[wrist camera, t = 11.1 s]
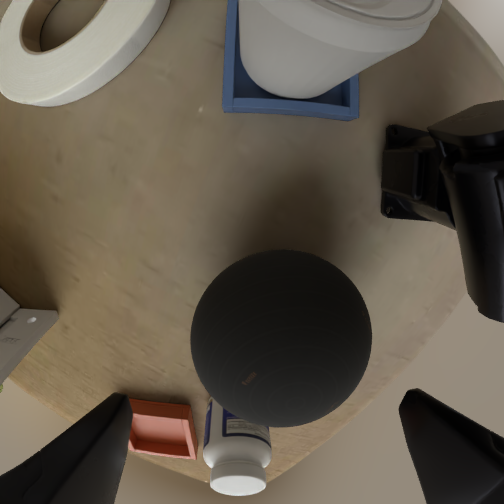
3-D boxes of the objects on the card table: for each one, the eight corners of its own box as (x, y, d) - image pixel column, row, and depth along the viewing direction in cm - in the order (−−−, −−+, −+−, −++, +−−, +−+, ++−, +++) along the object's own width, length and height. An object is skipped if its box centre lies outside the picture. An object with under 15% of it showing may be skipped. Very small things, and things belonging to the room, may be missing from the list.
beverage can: (219, 65, 15) (183, -44, 4) (277, -1, 13) (313, -123, 2) (304, 121, 17) (404, 89, 5) (357, 53, 15) (473, -18, 4)
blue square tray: (344, 20, 14) (354, 9, 13) (348, 121, 17) (359, 117, 15) (229, 8, 14) (228, -5, 12) (223, 112, 17) (222, 107, 15)
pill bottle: (235, 427, 25) (235, 503, 16) (196, 401, 24) (184, 483, 15) (278, 405, 24) (289, 485, 16) (239, 375, 23) (240, 464, 14)
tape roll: (-31, 73, 11) (-11, 76, 13) (65, 138, 14) (87, 139, 17) (74, -71, 7) (86, -58, 10) (214, -50, 10) (217, -29, 13)
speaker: (183, 328, 21) (153, 433, 12) (235, 205, 18) (230, 256, 9) (299, 368, 23) (325, 467, 13) (363, 264, 20) (441, 340, 10)
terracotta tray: (190, 404, 24) (187, 419, 22) (198, 446, 26) (196, 459, 24) (116, 396, 23) (111, 409, 22) (134, 438, 26) (130, 450, 24)
